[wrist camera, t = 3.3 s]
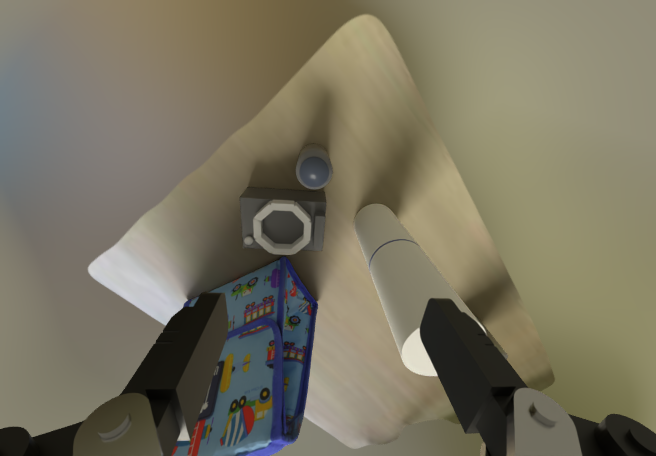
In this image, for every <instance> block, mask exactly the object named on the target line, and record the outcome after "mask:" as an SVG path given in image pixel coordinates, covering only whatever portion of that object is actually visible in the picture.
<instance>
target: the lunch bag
mask: <svg viewBox="0 0 656 456" xmlns="http://www.w3.org/2000/svg"><path fill="white" fill-rule="evenodd" d="M210 292H216V293H225V296H226V305H227V314H228V323H229V327H228V335H227V339H226V342H225V345H224V347H223V350H222V353H221V356H220V358H219V361H218V364H217V367H216V370H215V372H214V375H213V378H212V381H211V384H210V386H209V389H208V392H207V395H206V397H205V400H204V403H203V406H202V409H201V411H200V414H199V417H198V420H197V422H196V425H195V428H194V431H193V434H192V436H191V439H190V440H187V441H177V443H176V445H175V448H174V450H173V453H172V455H171V456H270V455H272V454H274V453H276V452H278V451H280V450H281V449H282V448H283V447H285V446H286V445H288V444H292V443H294V442H295V441H296V439H297V438H298V435H299V432H300V428H301V424H302V420H303V416H304V410H305V405H306V398H307V392H308V382H309V375H310V366H311V356H312V349H313V341H314V332H315V322H316V314H317V309H318V303H317V302H316V301H315V300H314V298H313V297H312V296H311V295H310V293H309V292H308V290H307V289H306V287H305V286H304V285H303V284H302V282H301V280H300V279H299V277H298V276H297V274H296V272H295V271H294V269H293V267H292V265H291V263H290V261H289V260H288V259H287V258H286V257H285V256H283V257H282V258H280V260H277V261H275V262H273V263H271V264H268V265H266V266H264V267H262V268H260V269H258V270H256V271H254V272H252V273H249V274H247V275H245V276H243V277H241V278H239V279H237V280H234V281H232V282H230V283H227V284H225V285H223V286H221V287H219V288H217V289H214V290H212V291H210ZM198 298H199V297H196V298H193V299H190V300H188V301H187V302H186V303H185V304H184V306H183V308H184V307H185V306H189V307H193V306H194V304H195V303H196V301H197V299H198Z"/></svg>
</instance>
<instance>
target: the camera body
mask: <svg viewBox="0 0 656 456" xmlns="http://www.w3.org/2000/svg"><path fill="white" fill-rule="evenodd" d="M240 210H241V225H242V239H243V248H259V249H265V250H267V251H268V252H269V253H271V252H272V254H279V255H292V254H295V253H297V252H298V251H299V250H309V251H322V248H323V239H324V227H325V212H326V198H325V192H318V191H302V190H286V189H270V188H253V187H247V189H246V190H245V191H244V193H243V194H242V195H241V196H240Z"/></svg>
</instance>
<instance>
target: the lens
mask: <svg viewBox="0 0 656 456" xmlns="http://www.w3.org/2000/svg"><path fill="white" fill-rule="evenodd" d="M332 173H333V170H332V165H331V162H330V159H329V156H328V153H327V151H326V150H325V148H324V147H322V146H321V145H318V144H309V145H307V146H305V147H304V148H303V149H302V150H301V152H300V154H299V158H298V162H297V166H296V176H297V178H298V180H299V182H300V183H301V184H302V185H303V186H305V187H306V188H309V189H320V188H322V187H324V186H326V185H327V184H328V183H329V181H330V180H331V177H332Z"/></svg>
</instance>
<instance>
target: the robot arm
mask: <svg viewBox="0 0 656 456" xmlns="http://www.w3.org/2000/svg"><path fill="white" fill-rule="evenodd" d="M476 318H477V320H478V321H479V322H480V324H481V325H482V326H483V327H484V329H485V331H486V333H485V332H484V330H483V329H482V328H481V327H480V325H479V324H478V323H477V322H476V321H475V320H474V319H472V318H471V317H470V316H469V315H467V314H466V313H465V312H461V311H460V310H459V308H458V307H457V306H456V304H455V303H454V302H453V300H451V299H449V298H430V299H429V301H428V303H427V306H426V309H425V312H424V315H423V318H422V321H421V324H420V338H421V341H422V343H423V346H424V348H425V350H426V352H427V354H428V356H429V358H430V360H431V362H432V364H433V367H434V369H435V371H436V373H437V375H438V377H439V379H440V381H441V383H442V385H443V387H444V390H445V392H446V394H447V396H448V398H449V400H450V402H451V404H452V406H453V408H454V411H455V413H456V415H457V417H458V419H459V421H460V423H461V425H462V427H463V429H464V432H465V433H466V434H467V433H480V435H481V437H482V439H483V443H482V445H481V452H480V456H656V434H655V433H654V432H652V431H651V430H650V429H648V428H647V427H645V426H643V425H642V424H640V423H639V422H637V421H635V420H633V419H630V418H628V417H626V416H622V415H618V414H610V415H608V416H607V417H606V418H605V419H604V420H603V421H602V422H601V423H600V424H599V423H596V422H592V421H589V420H586V419H582V418H579V417H576V416H572V415H569V414H567V413H566V411H565V410H564V409H563V408H562V407H561V406H560V405H558V404H557V403H556V402H555V401H554V400H552V399H551V398H550V397H548V396H547V395H545V394H543V393H541V392H539V391H537V390H534V389H530V388H528V387H527V386H526V384H525V383H524V382H523V381H522V379H521V378H520V377H519V375H518V374H517V373H516V372H515V370H514V369H513V368H512V366H511V365H510V364H509V363H508V361H507V358H508V355H507V353H506V352H505V351H504V350H503V348H502V347H501V346H500V345H499V343H498V342H497V341H496V340H495V338H494V337H493V336H492V335H491V333H490V332H489V331H488V330H487V328H486V327H485V326H484V325H483V323H482V322H481V321H480V320H479V318H478V317H476ZM228 327H229V323H228V314H227V305H226V296H225V293H216V292H203V293H201V294H200V296H199V298H198V299H197V301H196V303H195V304H194V306H193V307H189V306H185V307H184V308H182V309H181V310H180V311H179V312H177V313H176V314H175V315H174V316H173V317H171V319H170V321H169V322H168V324H167V325H166V327H165V328H164V330H163V333H161V334H160V336H159V337H158V339H157V340H156V343H155V344H154V345H153V346H152V348H151V349H150V351H149V353H148V354H147V356H146V357H145V359H144V360H143V362H142V363H141V365H140V366H139V368H138V369H137V371H136V372H135V374H134V375H133V377H132V378H131V380H130V381H129V383H128V384H127V386H126V387H125V389H124V390H123V392H122V393H121V394H120V395H119V396H117V397H115V398H112V399H111V400H109V401H107V402H105V403H104V404H102V405H101V406H99V407H98V408H97V409H96V410H94V412H92V413H91V414H90V415H89V416H88V417H87V418H86V420H84V421H82V422H79V423H76V424H73V425H70V426H67V427H64V428H61V429H58V430H54V431H51V432H48V433H45V434H42V435H38V436H35V437H31V436H30V434H29V433H28V431H27V430H25V429H24V428H21V427H7V428H3V429H0V456H171V455H172V453H173V450H174V448H175V445H176V443H177V441H187V440H190V439H191V436H192V434H193V431H194V428H195V425H196V422H197V420H198V417H199V414H200V411H201V409H202V406H203V403H204V400H205V397H206V395H207V392H208V389H209V386H210V384H211V381H212V378H213V375H214V372H215V370H216V367H217V364H218V361H219V358H220V356H221V353H222V350H223V347H224V345H225V342H226V339H227V335H228Z"/></svg>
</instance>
